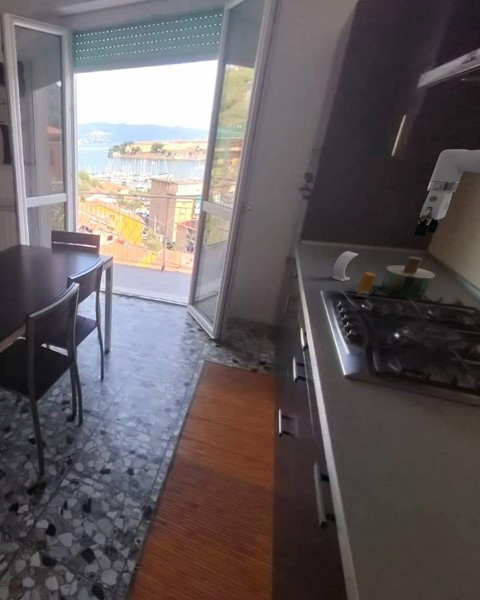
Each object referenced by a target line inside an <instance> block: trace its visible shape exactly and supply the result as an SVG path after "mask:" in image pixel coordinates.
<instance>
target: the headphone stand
mask: <svg viewBox="0 0 480 600" xmlns="http://www.w3.org/2000/svg"><path fill="white" fill-rule="evenodd" d="M358 256H359V253H356V252H352V251H349V250H348V251H344V252H343V253H342V254H340V255H339V256H338V258H337V259H336V261H335V263H334V265H333V274H334V275H332V277H331V278H332V279H335V280H337V281H340V282H345V281H350V280H351V277H348V276H346V268H347V266H348V264H349V263H350V261H351V260H353V258H355V257H358Z"/></svg>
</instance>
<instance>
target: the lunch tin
mask: <svg viewBox="0 0 480 600" xmlns="http://www.w3.org/2000/svg"><path fill="white" fill-rule="evenodd" d="M432 280H433V278H431V279H418V278H410V277H405V276H401V275H397V274H394V273H391V272H389V271H388V270H387V269H386V273H385V275H384V278H383V281H382V283H381V287H380V289H381V291H383V292H384V293H386V294H389V295H391V296H395V297H398V298H399V297H400V298H405V299H412V300H415V299H423V298H424V297H425V296H426V294H427V292H428V289H429V287H430V285H431V283H432Z"/></svg>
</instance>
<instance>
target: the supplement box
mask: <svg viewBox="0 0 480 600" xmlns="http://www.w3.org/2000/svg"><path fill="white" fill-rule="evenodd" d="M376 276H377V275H376V274H374V273H373V272H367V271H364V272H363V275H362V277H361V280H360V282H359V284H358V287H357V290H356V292H357V293H358V294H367V295H368V296H369V295H370V292H371V289H372V287H373V284H374V281H375V278H376ZM356 295H357V294H356V293H355V296H356Z"/></svg>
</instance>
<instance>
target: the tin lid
mask: <svg viewBox="0 0 480 600" xmlns="http://www.w3.org/2000/svg"><path fill="white" fill-rule="evenodd" d="M422 261H423V258H422V257H420V256H419V257H418V256H408V257H407V260H406V262H405V265H397V264H395V265H394V264H393V265H388V266H386V271H387V270H388V271H389V272H391V273H394V274H397V275H401V276H405V277H410V278H418V279H431V278H432V279H434V278H435V276H436V274H435V273H434V272H432V271H430V270H427V269H423V268H420V265H421V263H422Z"/></svg>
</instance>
